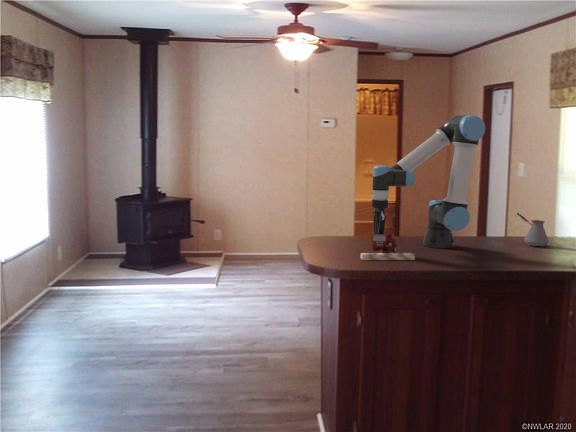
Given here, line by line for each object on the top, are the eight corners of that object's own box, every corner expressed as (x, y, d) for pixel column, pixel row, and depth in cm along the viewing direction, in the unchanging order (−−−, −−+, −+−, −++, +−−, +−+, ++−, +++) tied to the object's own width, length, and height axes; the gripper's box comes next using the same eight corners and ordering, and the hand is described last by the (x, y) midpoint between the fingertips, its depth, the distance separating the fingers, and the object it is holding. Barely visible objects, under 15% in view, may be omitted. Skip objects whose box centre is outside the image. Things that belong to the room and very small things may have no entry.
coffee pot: (553, 247, 302) (555, 218, 299) (535, 248, 298) (537, 218, 295) (522, 239, 321) (525, 212, 319) (505, 240, 317) (507, 212, 315)
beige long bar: (412, 258, 267) (412, 252, 266) (414, 259, 264) (415, 253, 263) (360, 258, 263) (360, 252, 263) (362, 260, 260) (362, 254, 260)
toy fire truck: (399, 257, 267) (400, 235, 266) (373, 258, 265) (374, 235, 263) (393, 254, 274) (394, 232, 272) (367, 255, 271) (369, 232, 270)
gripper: (368, 197, 281) (366, 246, 284) (376, 200, 268) (374, 252, 272) (383, 197, 282) (381, 246, 286) (392, 200, 269) (390, 252, 273)
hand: (377, 249), depth 279 cm, fingers closed
